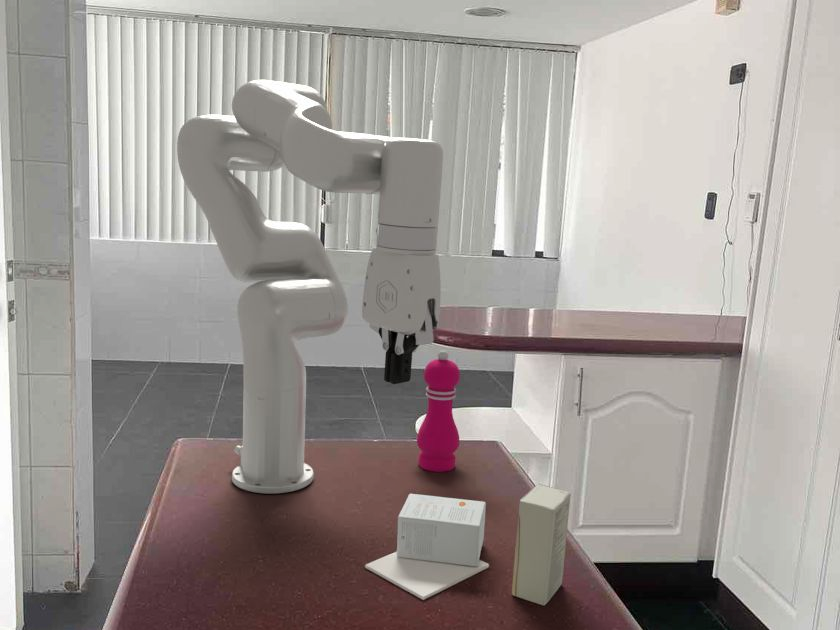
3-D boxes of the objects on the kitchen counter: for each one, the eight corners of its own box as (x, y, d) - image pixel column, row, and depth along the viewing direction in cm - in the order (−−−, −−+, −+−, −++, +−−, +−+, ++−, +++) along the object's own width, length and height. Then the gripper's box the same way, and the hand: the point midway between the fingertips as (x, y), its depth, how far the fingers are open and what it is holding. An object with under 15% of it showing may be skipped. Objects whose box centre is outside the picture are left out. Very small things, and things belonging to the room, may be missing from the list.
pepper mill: (410, 459, 136) (416, 346, 133) (449, 456, 139) (456, 345, 135) (422, 474, 130) (429, 355, 126) (464, 471, 132) (471, 354, 128)
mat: (365, 567, 98) (365, 564, 98) (431, 539, 107) (431, 536, 107) (423, 600, 91) (423, 596, 91) (488, 567, 100) (489, 564, 100)
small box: (394, 557, 100) (477, 568, 98) (397, 515, 99) (480, 526, 97) (407, 530, 108) (484, 540, 106) (409, 492, 107) (486, 501, 105)
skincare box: (529, 574, 98) (537, 482, 96) (563, 585, 96) (572, 490, 94) (510, 596, 93) (517, 499, 91) (545, 608, 91) (554, 508, 89)
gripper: (345, 233, 101) (338, 371, 105) (428, 248, 91) (416, 401, 94) (388, 232, 106) (380, 364, 110) (471, 246, 96) (459, 391, 99)
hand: (397, 381), depth 102 cm, fingers closed
